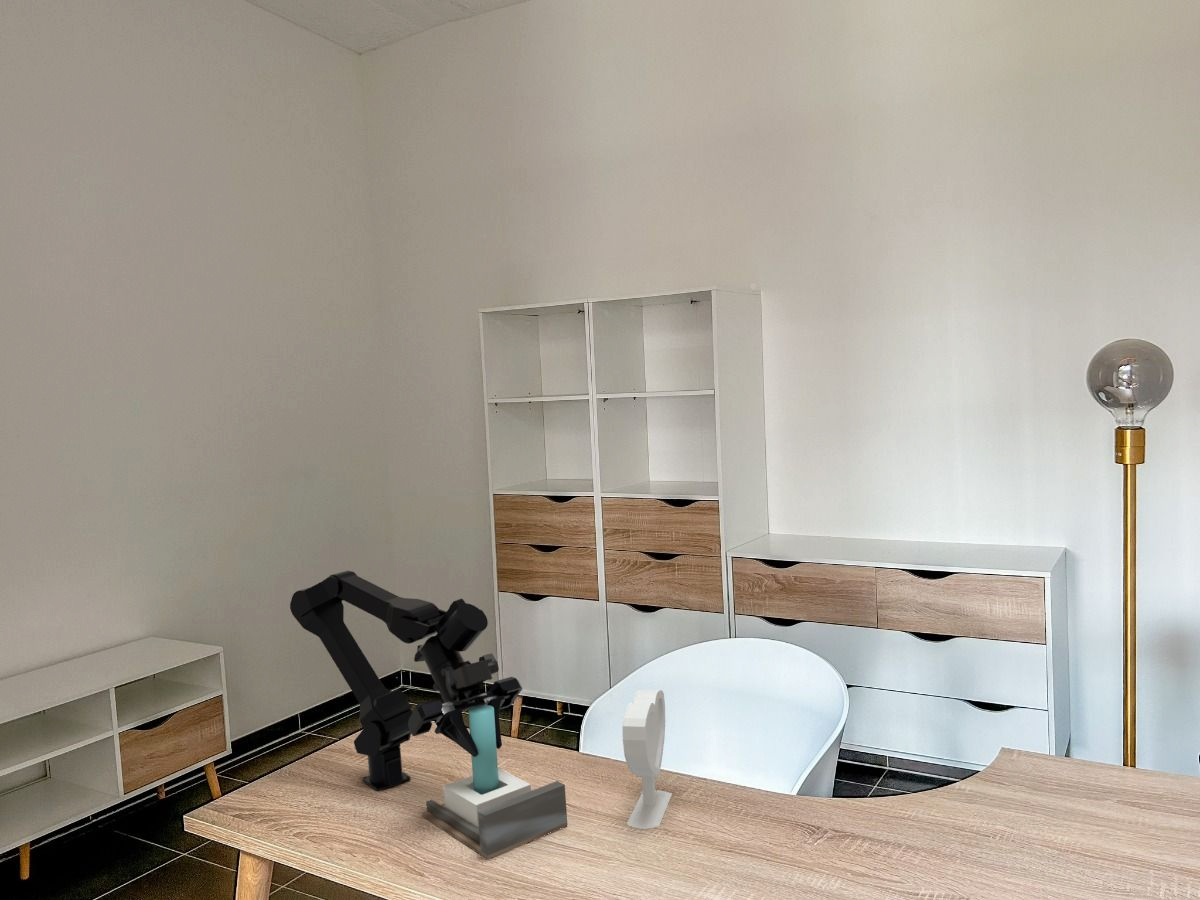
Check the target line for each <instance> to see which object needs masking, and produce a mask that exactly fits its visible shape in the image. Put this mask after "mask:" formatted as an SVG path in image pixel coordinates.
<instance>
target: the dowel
mask: <svg viewBox="0 0 1200 900" xmlns="http://www.w3.org/2000/svg"><path fill="white" fill-rule="evenodd" d="M467 711H468V725H469V733H470V735H471V737H472V739H473V741H474V743H475V745H476V748H477V751H478V755H477V756H476V757H473V756H472V755H471V754H470V756H471V767H472V775H473V785H474V791H475V792H477V793H479V794H481V795H483V794H486V793H488V792H491V791H494V790H496V789H499V777H498V768H499V767H498V766H499V763H498V751H497V747H496V733H495V718H494V707H492V706H489V705H480V706H475V707H472V708H470V709H469V710H467Z"/></svg>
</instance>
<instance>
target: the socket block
mask: <svg viewBox="0 0 1200 900" xmlns="http://www.w3.org/2000/svg"><path fill="white" fill-rule="evenodd" d="M498 777H499V789H496V790H494V791H491V792H488V793H486V794H483V795H481V794H479V793H477V792H475V791H474V785H473V774H472V775H469V776H467V777H464V778H462V779H458V780H456V781H453V782H450V783H447V784H445V785H443V799H444V800H443V801H444V804H445V808H446V809H448V810H449V811H451V812H452V813H454V814H456V815H457V816H459V817H460V818H462V819H464V820H465V821H467V822H468V823H470V824H472V825H473V826H475V827H476V828H478V829H479V822H478V811H480V810H483V809H485V808H488V807H490V806H493V805H496V804H498V803H501V802H503V801H506V800H509V799H511V798H514V797H516V796H519V795H522V794H524V793H527V792H529V791H532V787H531V786H532V785H531V783H528V782H527V781H525V780H522V779H520V777H517V776H515V775H513V774H511V773H509V772H507V771H505V770H504V769H501V768H499V767H498Z"/></svg>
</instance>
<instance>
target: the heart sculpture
mask: <svg viewBox="0 0 1200 900" xmlns="http://www.w3.org/2000/svg"><path fill="white" fill-rule="evenodd" d="M665 702H666V701H665V693H664V691H663V690H661V689H658V690H657V689H638V690H636V692H635V694H634V698H633V702H631V701H630V702H629V703H628V705H627V707H626V709H625V713H624V716H623V720H622V727H621V728H622V745H623V753H624V758H625V761H626V763H625V764H626V766H627V768H628V770H629V771H630V772H631V773H632V774H633V775H635V776H636V777H637V778H641V784H642V792H641V794H640V796H639V798H638V801H637V803H636V804H635V806H634V808H633V811H632V813H631V814H630V817H629V818H628V821H627V823H626V825H627V824H628V825H627V826H630V827H631V826H632V828H634V829H639V828H640V830H644V829H645V830H647V829H653V828H659V827H660V824H661V822H662V820H663V817H664V814H665V812H666V810H667V807H668V804H669V803H670V800H671V798H672V795H673V793H672V792H668V791H665V790H660V789H657V790H656V779H659V778H660V775H661V767H662V760H663V756H664V745H665V737H666V736H665V735H666V734H665V733H666V703H665Z"/></svg>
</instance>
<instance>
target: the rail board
mask: <svg viewBox="0 0 1200 900" xmlns="http://www.w3.org/2000/svg"><path fill="white" fill-rule="evenodd" d="M566 797H567V796H566V784H564V783H563V782H560V781H558V780H556V781H554V782H551V783H548V784H545V785H542V786H540V787H537V788H535V789H533V790H532V789H531V791H529V792H527V793H524V794H522V795H519V796H516V797H514V798H511V799H509V800H506V801H503V802H501V803H498V804H496V805H493V806H490V807H488V808H485V809H483V810H480V811H478V822H479V829H478V828H476V827H475V826H473V825H472V824H470V823H468V822H467V821H465V820H464V819H462V818H460V817H459V816H457V815H456V814H454V813H452V812H451V811H449V810H448V809H446V808H445V803H443V804H440V803H439V802H436V801H435V800H433V799H429V800H426V801H425V804H426V810H424V811H422V812H421V816H422V817H423V818H424V819H426V820H427V821H429V822H430V823H432V824H434V825H435V826H436V827H438V828H440V829H441V830H443V831H444V832H446V833H447V834H449V835H450V836H452V837H453V838H455V839H457V840H458V841H459V842H461V844H462V843H463V844H464V845H466V846H467V847H468V848H470V849H471V850H473V851H474V852H476V853H478V854H479V855H480V856H482V857H484V859H487V860H491V859H493V858H496V857H498V856H500V855H503V854H505V853H507V852H510V851H512V850H515V849H516V847H517V848H519V847H522V846H524V845H526V844H528V842H529V843H531V842H533V841H532V840H534V841H535V839H536V840H537V838H538V839H540V838H539V837H541V838H542V836H543V837H545V836H547V835H546V834H548V833H550V832H552V833H554V832H553V831H555V830H557V831H559V830H561V829H560V828H562V829H564V828H566V827H568V826H567V825H568V813H567V798H566ZM565 826H566V827H565ZM563 827H564V828H563ZM558 829H559V830H558ZM555 832H556V831H555ZM550 834H551V833H550ZM544 835H545V836H544ZM548 835H549V834H548ZM530 841H531V842H530ZM525 843H526V844H525ZM523 844H524V845H523ZM521 845H522V846H521ZM514 848H515V849H514Z"/></svg>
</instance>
